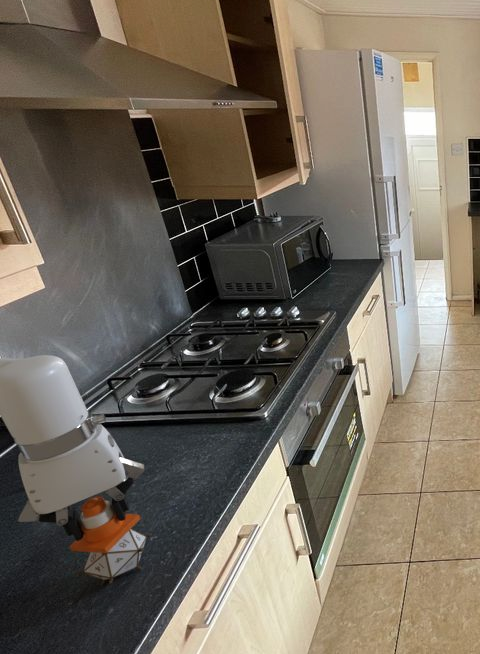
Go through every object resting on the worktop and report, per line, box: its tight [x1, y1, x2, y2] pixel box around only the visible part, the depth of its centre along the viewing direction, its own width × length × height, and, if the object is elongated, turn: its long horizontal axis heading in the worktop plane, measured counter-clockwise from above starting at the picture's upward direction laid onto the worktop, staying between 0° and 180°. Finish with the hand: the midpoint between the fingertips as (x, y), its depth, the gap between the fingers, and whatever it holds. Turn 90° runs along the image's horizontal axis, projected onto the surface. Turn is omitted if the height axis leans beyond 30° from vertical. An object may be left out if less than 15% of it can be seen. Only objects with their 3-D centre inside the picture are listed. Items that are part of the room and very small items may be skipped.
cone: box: [69, 495, 141, 553], centre depth 67 cm, size 6×6×8 cm
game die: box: [75, 528, 153, 586], centre depth 70 cm, size 9×8×10 cm
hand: (101, 523), depth 68 cm, fingers closed on cone, 4 cm apart
